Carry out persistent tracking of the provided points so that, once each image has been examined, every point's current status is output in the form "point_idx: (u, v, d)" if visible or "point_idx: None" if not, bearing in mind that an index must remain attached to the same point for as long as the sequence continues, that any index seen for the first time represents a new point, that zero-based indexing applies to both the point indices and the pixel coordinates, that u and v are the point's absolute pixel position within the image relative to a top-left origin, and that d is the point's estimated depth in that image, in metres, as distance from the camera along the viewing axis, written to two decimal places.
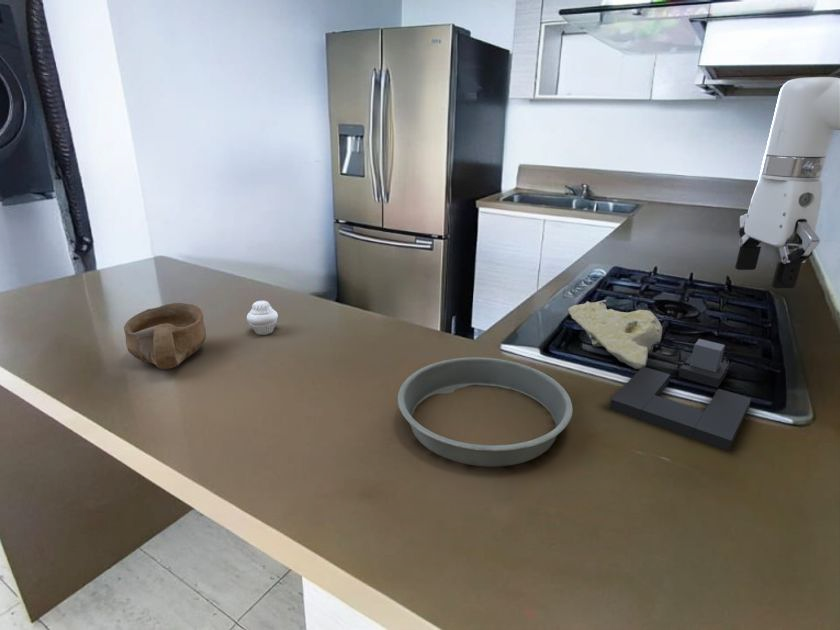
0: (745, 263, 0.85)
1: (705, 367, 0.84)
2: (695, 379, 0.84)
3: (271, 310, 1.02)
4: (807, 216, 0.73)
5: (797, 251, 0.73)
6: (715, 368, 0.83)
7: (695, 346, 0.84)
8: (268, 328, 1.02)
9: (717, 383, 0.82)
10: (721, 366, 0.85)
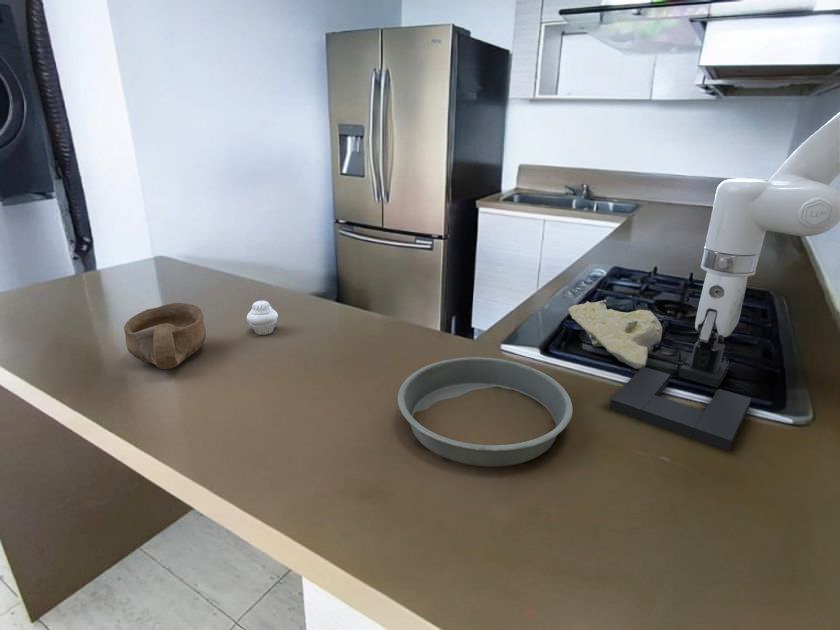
0: None
1: None
2: (695, 379, 0.84)
3: (271, 310, 1.02)
4: (717, 307, 0.77)
5: (700, 338, 0.81)
6: (715, 368, 0.83)
7: (695, 346, 0.84)
8: (268, 328, 1.02)
9: (717, 383, 0.82)
10: (721, 366, 0.85)
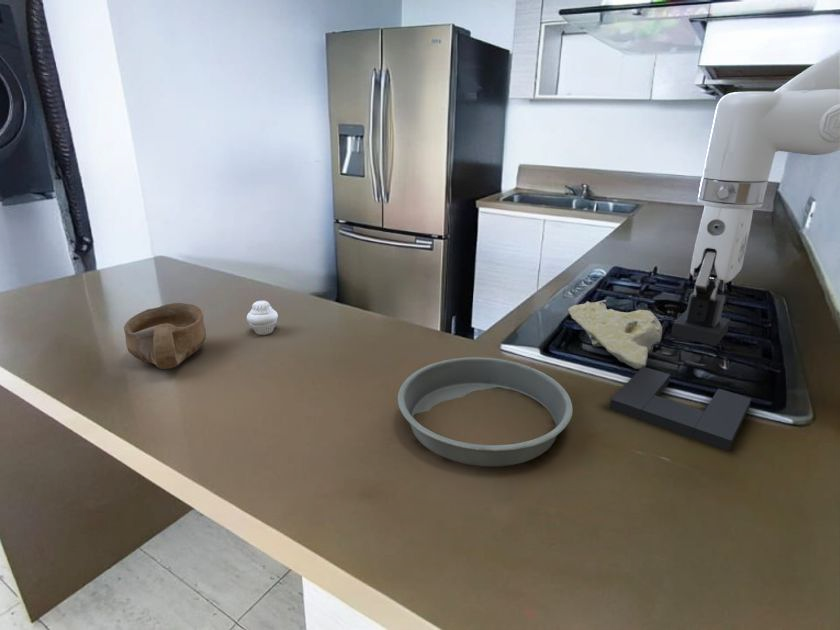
0: None
1: None
2: (690, 335, 0.72)
3: (271, 310, 1.02)
4: (717, 246, 0.65)
5: None
6: (714, 322, 0.71)
7: (691, 297, 0.72)
8: (268, 328, 1.02)
9: (716, 339, 0.70)
10: (721, 321, 0.73)
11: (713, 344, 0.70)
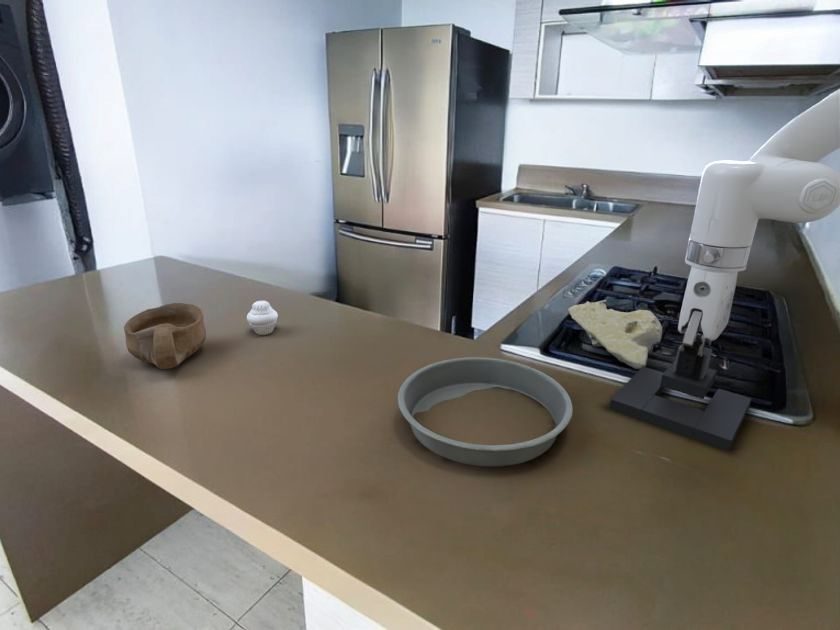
0: None
1: None
2: (678, 387, 0.75)
3: (271, 310, 1.02)
4: (703, 307, 0.68)
5: None
6: (701, 375, 0.74)
7: (679, 350, 0.75)
8: (268, 328, 1.02)
9: (703, 392, 0.73)
10: (708, 373, 0.76)
11: (700, 397, 0.73)
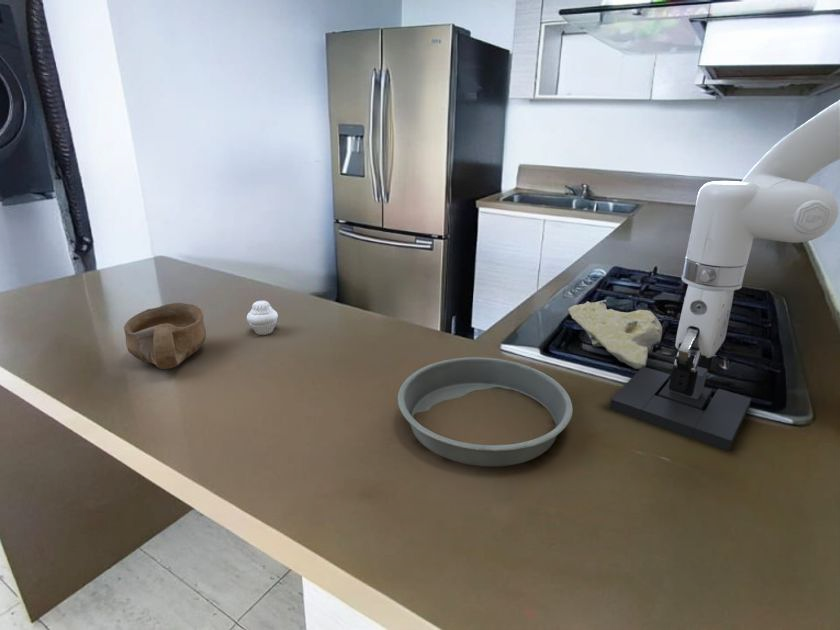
0: None
1: None
2: None
3: (271, 310, 1.02)
4: (699, 325, 0.69)
5: (676, 357, 0.70)
6: (696, 395, 0.75)
7: None
8: (268, 328, 1.02)
9: None
10: (703, 392, 0.77)
11: None
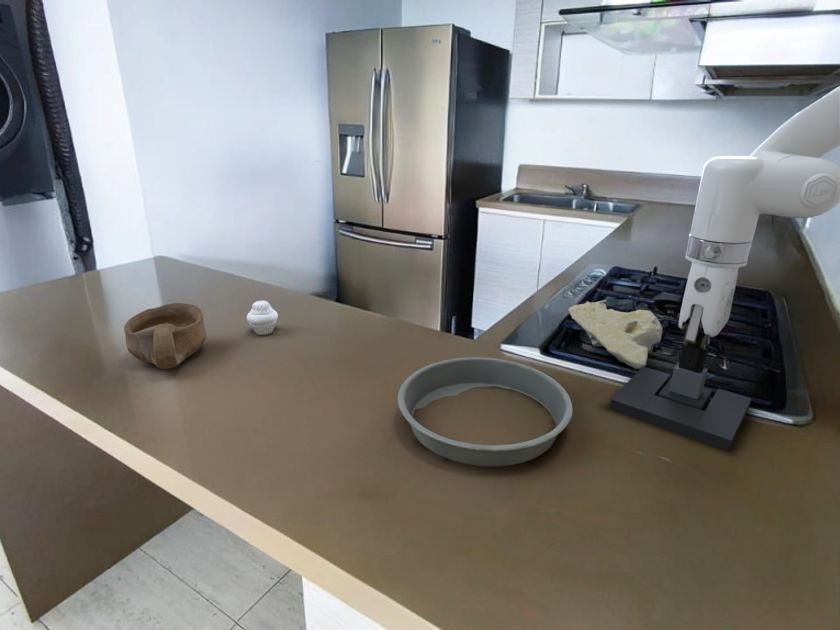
0: None
1: (685, 393, 0.76)
2: None
3: (271, 310, 1.02)
4: (703, 303, 0.68)
5: None
6: (696, 395, 0.75)
7: (674, 370, 0.76)
8: (268, 328, 1.02)
9: None
10: (703, 392, 0.77)
11: None
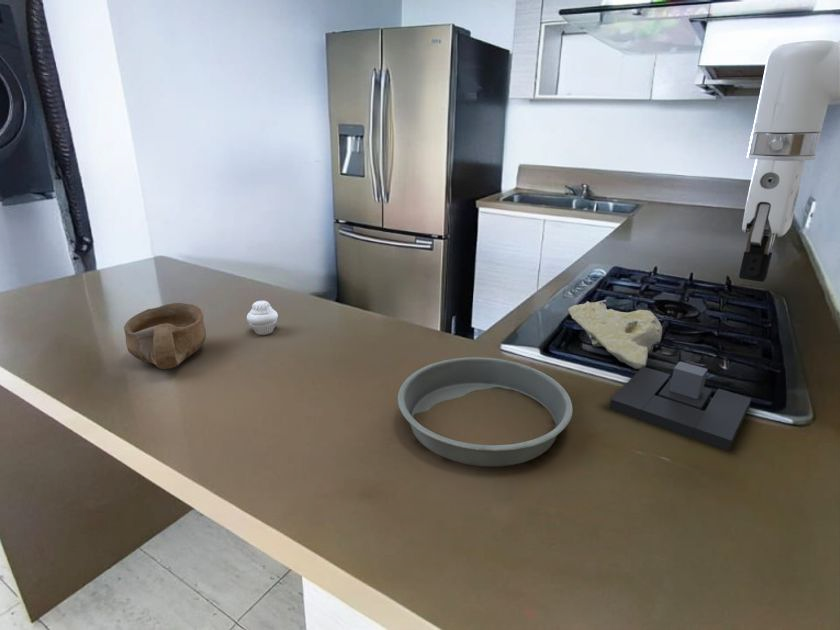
0: None
1: (685, 393, 0.76)
2: None
3: (271, 310, 1.02)
4: (771, 199, 0.65)
5: (750, 239, 0.70)
6: (696, 395, 0.75)
7: (675, 370, 0.76)
8: (268, 328, 1.02)
9: None
10: (703, 392, 0.77)
11: None
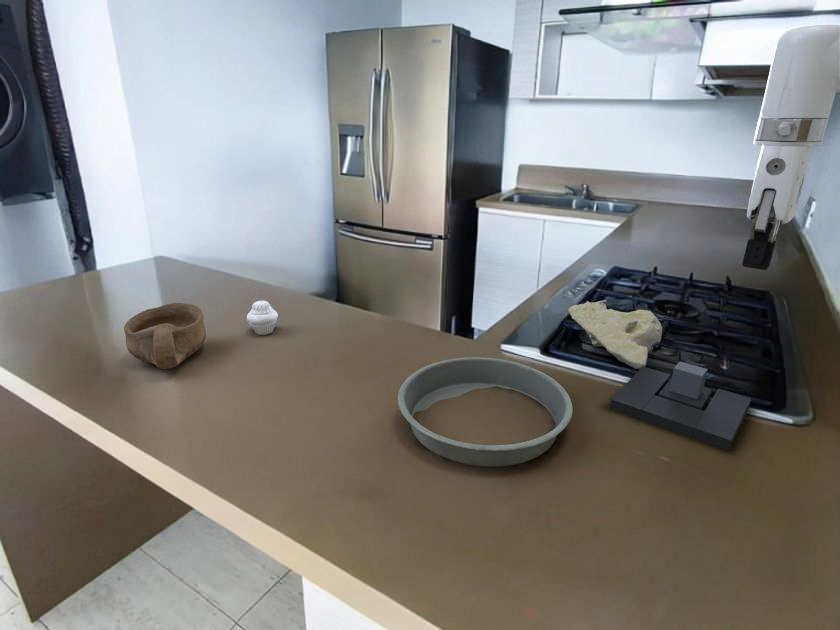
0: None
1: (685, 393, 0.76)
2: None
3: (271, 310, 1.02)
4: (776, 185, 0.65)
5: (754, 226, 0.70)
6: (696, 395, 0.75)
7: (675, 370, 0.76)
8: (268, 328, 1.02)
9: None
10: (703, 392, 0.77)
11: None
